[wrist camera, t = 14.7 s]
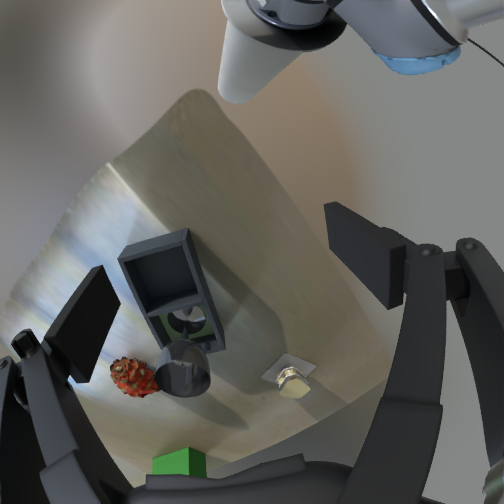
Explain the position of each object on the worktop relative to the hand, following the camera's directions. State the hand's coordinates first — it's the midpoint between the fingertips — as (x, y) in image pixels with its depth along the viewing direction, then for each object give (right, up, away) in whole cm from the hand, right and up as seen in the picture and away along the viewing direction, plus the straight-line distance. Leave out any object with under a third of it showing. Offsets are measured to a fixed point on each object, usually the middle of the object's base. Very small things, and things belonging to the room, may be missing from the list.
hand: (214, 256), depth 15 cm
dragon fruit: (-22, -24, +38) cm, 50 cm away
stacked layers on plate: (+10, -27, +44) cm, 53 cm away
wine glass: (-10, -12, +34) cm, 37 cm away
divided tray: (-11, -7, +32) cm, 35 cm away
